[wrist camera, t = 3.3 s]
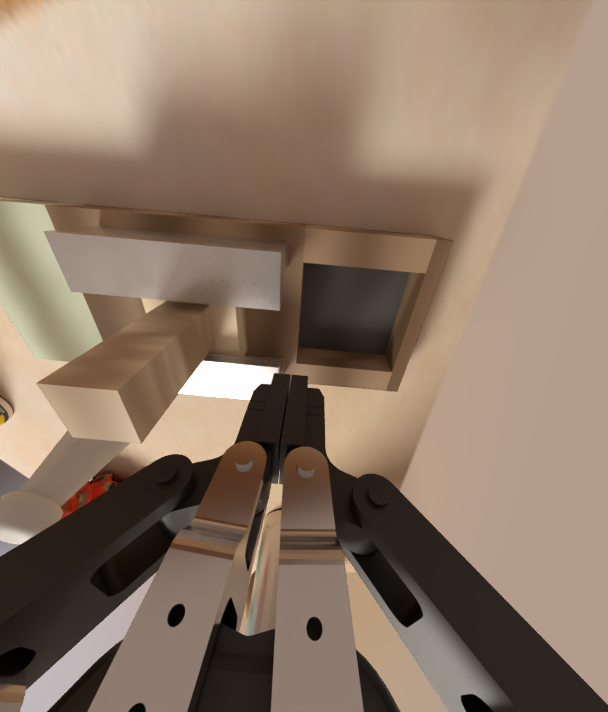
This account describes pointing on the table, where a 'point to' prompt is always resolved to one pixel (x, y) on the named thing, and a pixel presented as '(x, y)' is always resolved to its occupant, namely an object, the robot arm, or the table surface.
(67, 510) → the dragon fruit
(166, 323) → the slider block
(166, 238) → the grey slotted block
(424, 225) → the table surface
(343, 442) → the table surface
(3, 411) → the supplement bottle
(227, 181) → the table surface
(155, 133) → the table surface
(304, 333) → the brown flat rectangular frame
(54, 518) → the salt shaker
